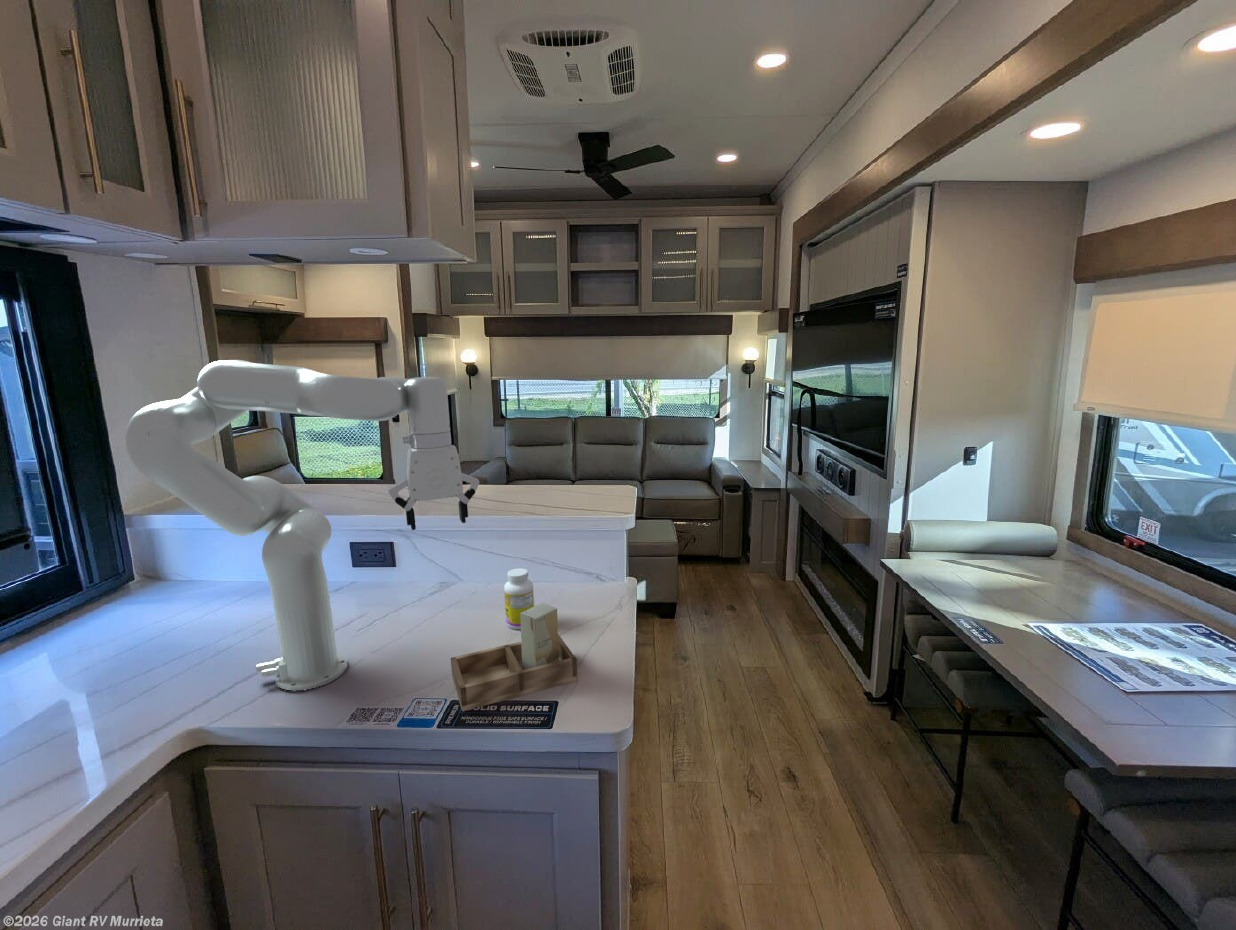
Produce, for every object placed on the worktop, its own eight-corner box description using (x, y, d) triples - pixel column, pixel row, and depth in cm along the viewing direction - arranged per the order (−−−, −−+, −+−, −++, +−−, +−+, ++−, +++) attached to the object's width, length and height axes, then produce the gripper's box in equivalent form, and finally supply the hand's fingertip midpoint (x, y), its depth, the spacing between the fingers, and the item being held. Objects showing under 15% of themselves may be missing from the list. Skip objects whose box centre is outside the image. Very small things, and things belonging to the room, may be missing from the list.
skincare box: (537, 679, 108) (533, 619, 106) (521, 671, 111) (518, 613, 108) (560, 664, 113) (558, 607, 111) (545, 657, 116) (542, 601, 113)
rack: (462, 711, 100) (460, 688, 99) (452, 678, 110) (450, 657, 110) (577, 680, 109) (576, 659, 108) (558, 652, 119) (557, 633, 118)
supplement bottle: (509, 617, 136) (506, 566, 133) (537, 616, 135) (534, 566, 133) (503, 630, 129) (500, 577, 127) (532, 630, 129) (529, 577, 126)
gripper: (384, 447, 104) (393, 536, 108) (479, 439, 111) (485, 523, 115) (382, 442, 111) (391, 525, 114) (472, 434, 118) (478, 514, 121)
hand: (438, 524), depth 114 cm, fingers open, 9 cm apart
